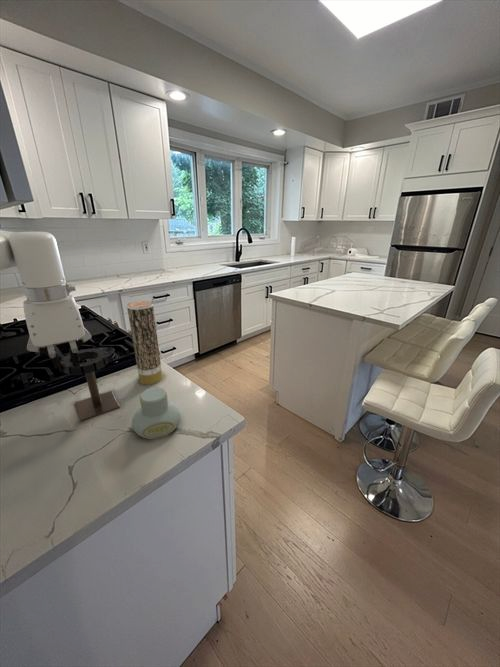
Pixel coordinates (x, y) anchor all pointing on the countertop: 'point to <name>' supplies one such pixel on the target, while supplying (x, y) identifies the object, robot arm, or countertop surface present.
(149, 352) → the patterned tall cylinder
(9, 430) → the countertop surface
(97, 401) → the holder
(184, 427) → the countertop surface
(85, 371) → the ring
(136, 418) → the air freshener
